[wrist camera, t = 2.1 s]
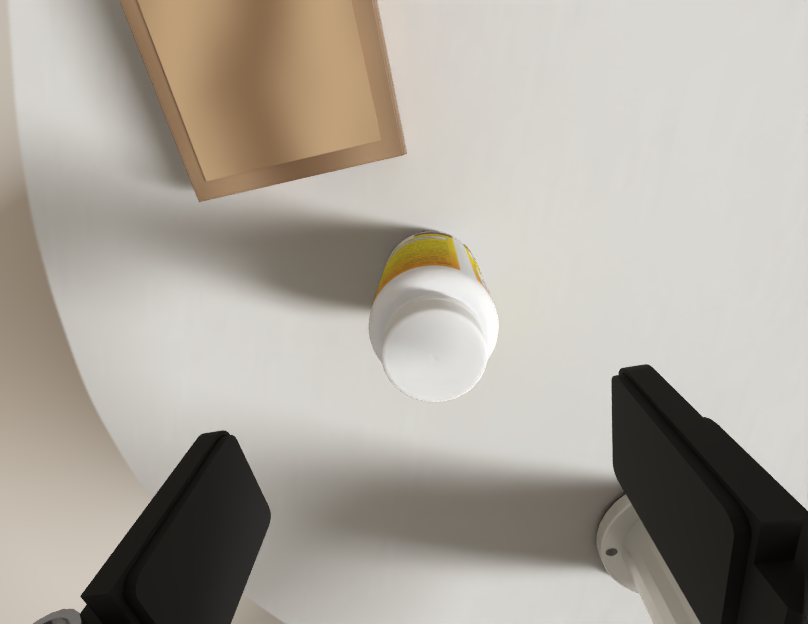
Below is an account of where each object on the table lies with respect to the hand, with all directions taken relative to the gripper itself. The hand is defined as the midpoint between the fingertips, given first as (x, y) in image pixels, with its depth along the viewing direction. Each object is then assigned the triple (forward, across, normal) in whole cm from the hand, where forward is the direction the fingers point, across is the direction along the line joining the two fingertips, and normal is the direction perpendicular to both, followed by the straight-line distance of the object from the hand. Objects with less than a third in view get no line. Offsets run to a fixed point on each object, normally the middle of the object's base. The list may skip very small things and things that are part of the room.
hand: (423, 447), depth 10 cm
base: (+16, +5, -11) cm, 20 cm away
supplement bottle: (+16, 0, +1) cm, 16 cm away
